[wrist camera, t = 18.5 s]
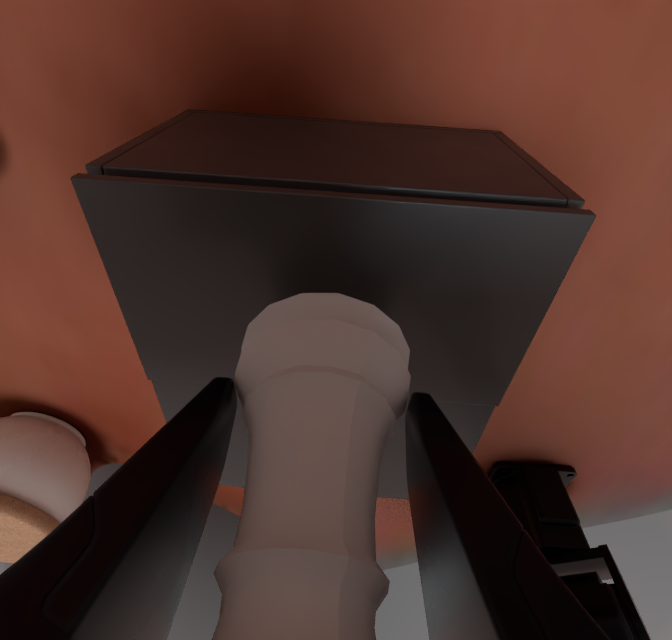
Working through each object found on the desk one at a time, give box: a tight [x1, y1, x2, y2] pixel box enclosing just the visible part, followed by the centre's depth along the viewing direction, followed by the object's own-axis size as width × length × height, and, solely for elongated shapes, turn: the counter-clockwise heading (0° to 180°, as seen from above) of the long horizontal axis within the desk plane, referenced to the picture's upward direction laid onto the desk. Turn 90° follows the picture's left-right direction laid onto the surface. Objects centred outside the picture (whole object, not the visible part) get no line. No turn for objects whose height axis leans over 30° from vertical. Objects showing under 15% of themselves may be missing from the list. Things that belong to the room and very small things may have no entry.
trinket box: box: [0, 412, 91, 563], centre depth 28 cm, size 11×11×9 cm
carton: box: [71, 109, 596, 406], centre depth 17 cm, size 15×13×8 cm
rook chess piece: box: [212, 293, 411, 640], centre depth 7 cm, size 4×4×8 cm
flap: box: [151, 380, 495, 499], centre depth 16 cm, size 7×13×1 cm, turn 87°
